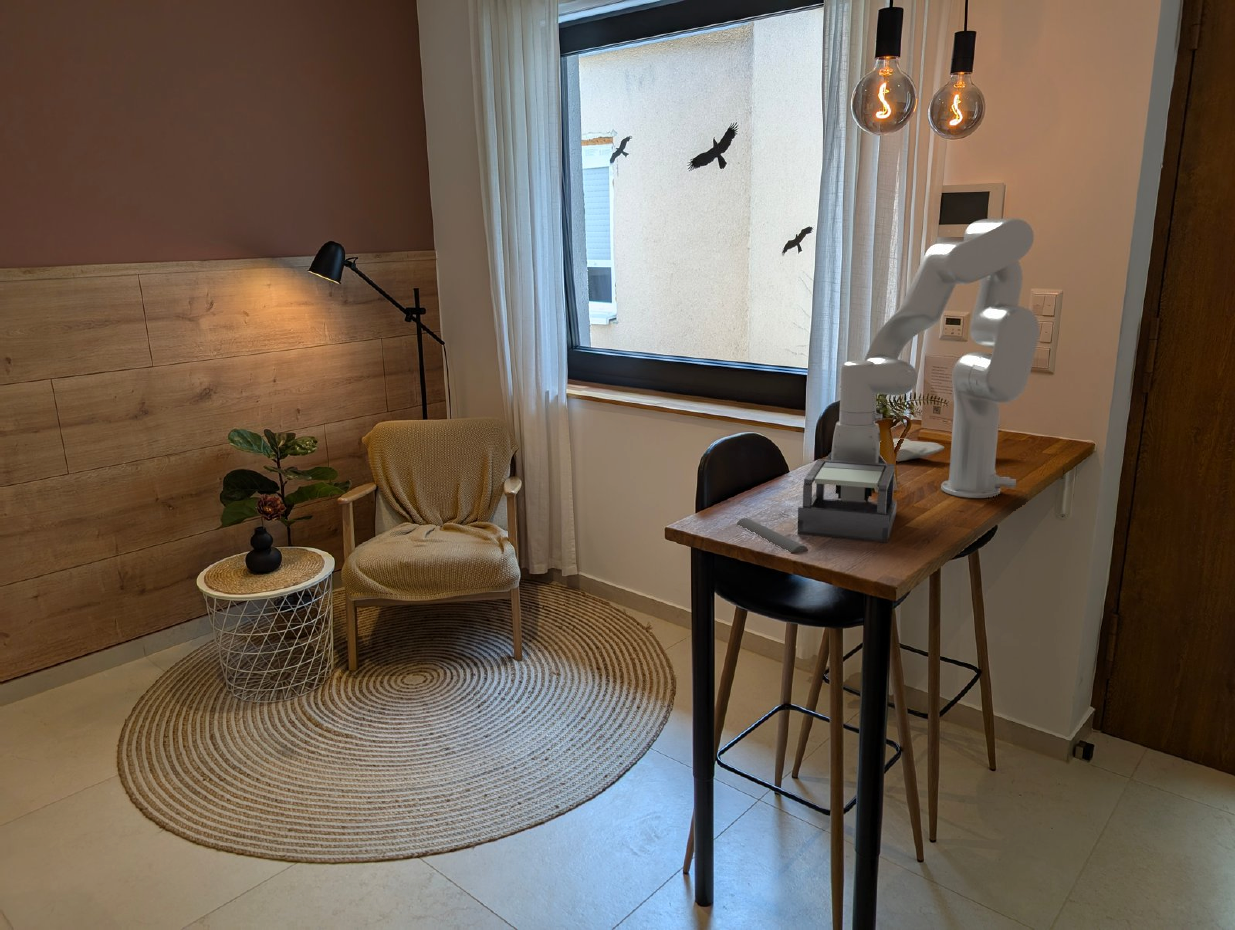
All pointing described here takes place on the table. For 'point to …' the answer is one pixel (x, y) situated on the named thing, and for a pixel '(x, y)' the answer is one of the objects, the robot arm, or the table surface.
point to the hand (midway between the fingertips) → (853, 497)
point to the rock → (916, 449)
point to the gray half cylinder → (772, 536)
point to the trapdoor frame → (848, 509)
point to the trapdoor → (850, 475)
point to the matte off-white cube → (852, 493)
